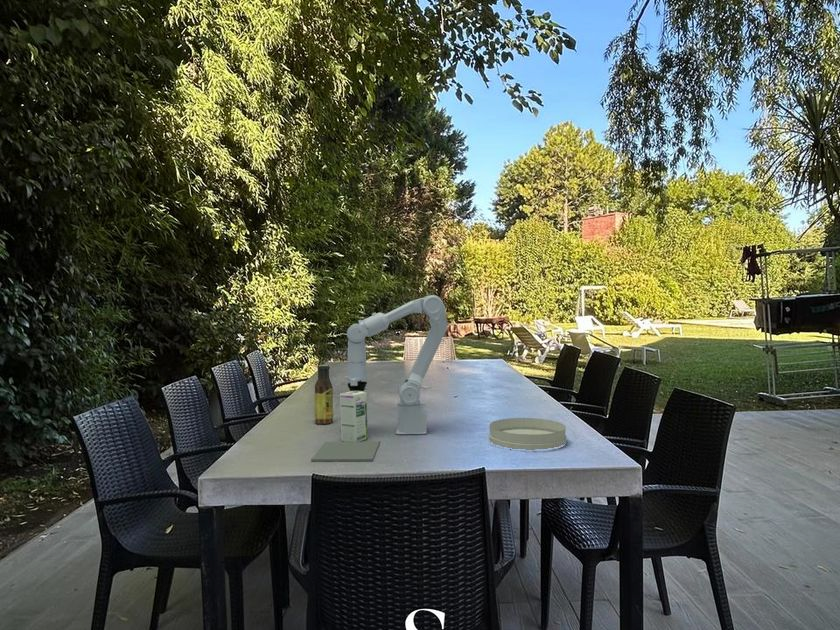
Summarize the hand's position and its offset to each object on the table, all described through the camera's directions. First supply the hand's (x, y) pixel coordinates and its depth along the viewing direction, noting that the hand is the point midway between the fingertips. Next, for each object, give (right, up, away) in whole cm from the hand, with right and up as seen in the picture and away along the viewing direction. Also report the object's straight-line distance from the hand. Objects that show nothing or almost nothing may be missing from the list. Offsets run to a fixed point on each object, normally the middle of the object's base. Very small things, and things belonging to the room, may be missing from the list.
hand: (357, 405), depth 172 cm
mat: (0, -9, -21) cm, 23 cm away
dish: (+51, -9, -12) cm, 53 cm away
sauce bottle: (-13, -9, +16) cm, 23 cm away
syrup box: (0, -9, -8) cm, 12 cm away
